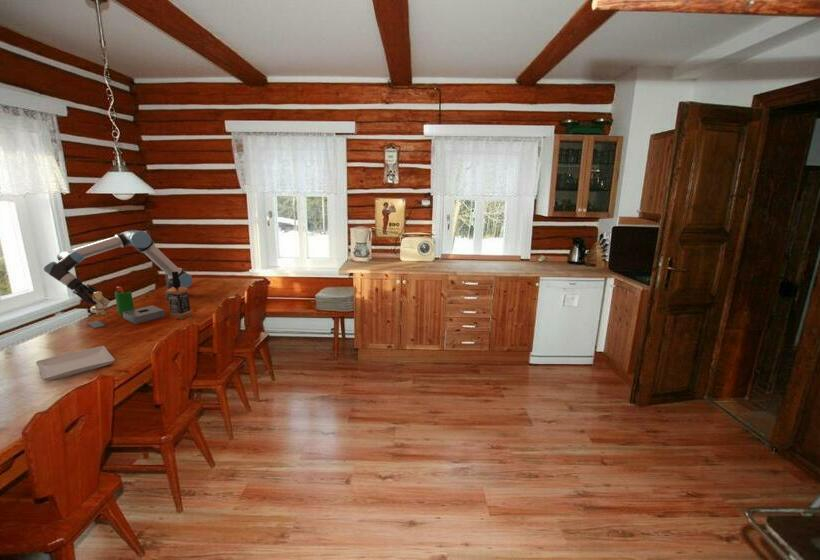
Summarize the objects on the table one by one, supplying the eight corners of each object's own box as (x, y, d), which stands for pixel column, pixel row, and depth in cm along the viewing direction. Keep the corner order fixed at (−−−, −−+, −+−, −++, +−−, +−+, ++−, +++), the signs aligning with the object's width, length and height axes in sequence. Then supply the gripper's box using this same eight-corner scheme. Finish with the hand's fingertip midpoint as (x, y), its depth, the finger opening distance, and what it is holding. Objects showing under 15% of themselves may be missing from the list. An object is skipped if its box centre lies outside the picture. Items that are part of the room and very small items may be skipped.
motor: (138, 311, 276) (133, 284, 271) (128, 315, 267) (123, 287, 262) (125, 311, 277) (120, 284, 272) (114, 315, 268) (109, 287, 263)
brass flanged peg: (105, 311, 256) (101, 290, 252) (110, 314, 251) (106, 292, 248) (91, 314, 249) (86, 292, 246) (95, 317, 245) (91, 294, 241)
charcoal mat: (112, 318, 262) (111, 317, 262) (120, 322, 254) (120, 321, 254) (86, 324, 251) (86, 323, 250) (94, 328, 243) (94, 327, 243)
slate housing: (153, 313, 273) (152, 305, 271) (165, 318, 263) (164, 310, 261) (124, 320, 258) (122, 311, 257) (135, 326, 248) (134, 317, 247)
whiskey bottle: (169, 318, 262) (162, 272, 254) (181, 314, 271) (175, 269, 264) (181, 320, 259) (174, 274, 251) (193, 315, 268) (187, 270, 261)
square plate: (116, 366, 195) (115, 359, 194) (43, 386, 176) (41, 378, 175) (104, 350, 213) (103, 344, 212) (36, 367, 193) (35, 360, 192)
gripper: (78, 282, 253) (110, 304, 259) (56, 290, 233) (92, 314, 240) (85, 274, 252) (117, 296, 259) (65, 281, 233) (100, 305, 240)
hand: (105, 305), depth 250 cm, fingers closed on brass flanged peg, 7 cm apart
